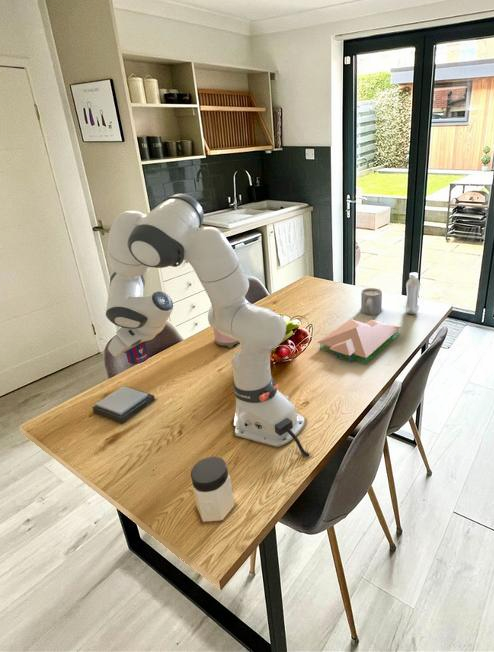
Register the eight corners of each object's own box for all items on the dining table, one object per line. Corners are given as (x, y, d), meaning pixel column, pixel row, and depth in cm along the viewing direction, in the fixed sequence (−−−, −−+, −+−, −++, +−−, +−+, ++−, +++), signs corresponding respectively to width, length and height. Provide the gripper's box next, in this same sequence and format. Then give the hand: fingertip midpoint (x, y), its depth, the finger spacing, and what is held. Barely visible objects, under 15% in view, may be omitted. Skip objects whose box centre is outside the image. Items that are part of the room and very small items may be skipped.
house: (313, 352, 162) (312, 334, 159) (355, 322, 186) (355, 306, 183) (362, 368, 149) (362, 349, 146) (400, 334, 174) (401, 317, 171)
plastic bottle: (403, 309, 197) (405, 271, 189) (417, 309, 196) (420, 271, 188) (404, 315, 191) (406, 275, 184) (419, 315, 190) (421, 276, 183)
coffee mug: (366, 304, 204) (366, 286, 201) (384, 308, 200) (384, 289, 196) (355, 314, 194) (355, 295, 190) (374, 318, 189) (374, 299, 185)
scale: (155, 400, 136) (153, 393, 135) (123, 423, 125) (121, 416, 124) (126, 390, 142) (124, 383, 141) (93, 412, 131) (91, 405, 130)
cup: (134, 366, 135) (129, 348, 132) (120, 357, 141) (115, 340, 138) (152, 357, 140) (148, 340, 137) (137, 349, 146) (133, 333, 143)
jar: (193, 523, 92) (184, 485, 87) (200, 494, 99) (193, 457, 94) (232, 520, 92) (225, 482, 87) (236, 491, 100) (231, 455, 95)
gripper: (163, 307, 139) (149, 327, 147) (112, 332, 122) (99, 354, 130) (174, 321, 139) (160, 340, 147) (125, 348, 122) (111, 368, 130)
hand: (131, 347), depth 138 cm, fingers closed on cup, 6 cm apart
